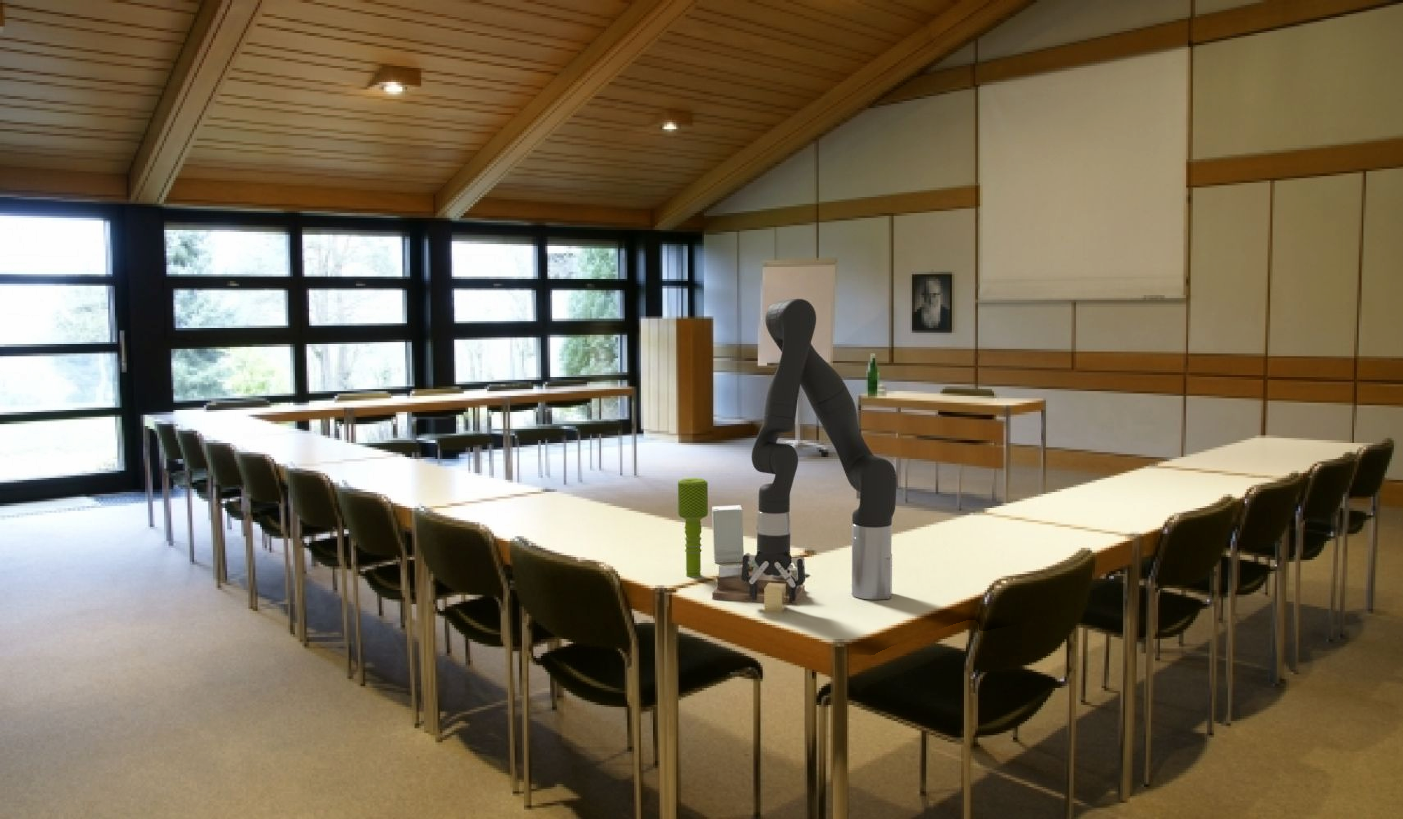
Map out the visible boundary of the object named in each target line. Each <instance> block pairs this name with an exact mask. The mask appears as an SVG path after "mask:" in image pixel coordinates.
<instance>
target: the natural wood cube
mask: <svg viewBox="0 0 1403 819" xmlns="http://www.w3.org/2000/svg"><path fill="white" fill-rule="evenodd" d="M763 603H764V611H763V612H764V613H772V614H783V613H784V611H785V610H786V608H787V604H786V584H782V583H768V584H767V586H766V587H765V588H764V602H763Z"/></svg>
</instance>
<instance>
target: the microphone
mask: <svg viewBox="0 0 1403 819" xmlns="http://www.w3.org/2000/svg"><path fill="white" fill-rule="evenodd" d="M708 482H709V481H708V480H705V479H702V478H698V477H697V478H695V477H694V478H693V477H692V478H690V477H689V478H682V479H681V480H678V481H677V506H678V507H677V510H678V512H677V514H678V515H677V516H679V518H683V520H685V522H684V523H685V525H684V534H685V535H686V537H684V540H685V547H686V548H685V550H684V552H685V566H686V568H685V569H686V570H685V572H686V574H685V575H686V577H688V578H698V577H701V570H702V569H701V568H702V567H701V559H702V558H701V552H703V551H702V549H701V547H702V544H701V540H702V537H701V534H702V524H701V523H702V522H701V520H702V519H705V518H706V517H707V516H708V511H709V508H708V507H709V506H708V505H709V501H708V500H709V498H708V496H709V495H708V494H709V492H708V489H709V488H708V485H709V484H708Z"/></svg>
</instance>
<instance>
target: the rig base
mask: <svg viewBox="0 0 1403 819" xmlns="http://www.w3.org/2000/svg"><path fill="white" fill-rule="evenodd" d="M755 572H756V571H755ZM755 572H753V571H752V572H751V571H749V575H750V576H753V575H754V574H755ZM756 582H757V599H756V600H752V598H751V597H750V584H749V583H748V582H747V581H743V580H742V579H741V577H720V576H719V575H717V577H716V588H715V589H714V590H713V591H712V593H711V596H712V597H711V598H712V600H723V601H724V600H725V601H737V602H738V601H739V602H740V601H742V602H753V603H755V602H756V603H764V588H765V587H766V586H767V584H768V583H782V584H786V605H797V604H798V602H800V599H801V598H802V597H803V595H804V592H805V590H806V589H805V584H803V585H799V586H797V598H796V600H795V601H794V602H793V603H789V587H790V585H789V583H788V582H787V580H785V579H776V578H772V575H766V574H764V573H762V574H761V575H760V576H759V578H758V579H757V580H756Z"/></svg>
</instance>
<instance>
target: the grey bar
mask: <svg viewBox="0 0 1403 819" xmlns="http://www.w3.org/2000/svg"><path fill="white" fill-rule="evenodd" d="M789 569H790V571H791V572H792V574H793V576H794V577H795V579H798V571H797V568H796V567H793V568H792V567H791V568H789ZM718 576H720V577H741V576H742V565H741V564H740V565H737V564H736V565H719V566H718ZM772 578H776V579H784V577H783V576H782V575H780V576H775V575H772Z"/></svg>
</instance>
